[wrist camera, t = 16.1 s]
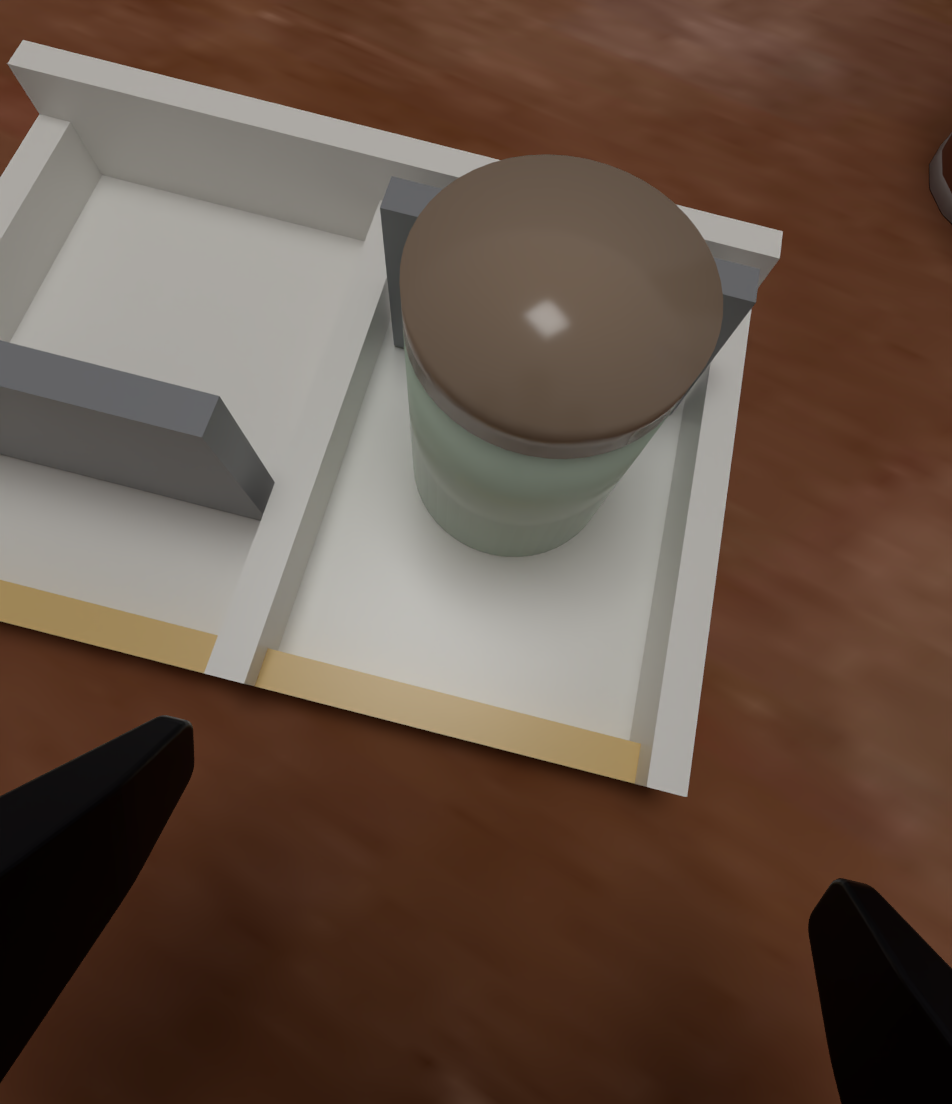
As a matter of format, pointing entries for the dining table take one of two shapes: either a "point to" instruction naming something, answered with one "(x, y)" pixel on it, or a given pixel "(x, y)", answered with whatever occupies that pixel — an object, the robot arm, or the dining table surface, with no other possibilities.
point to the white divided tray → (310, 439)
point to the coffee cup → (942, 177)
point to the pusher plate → (412, 197)
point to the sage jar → (546, 342)
